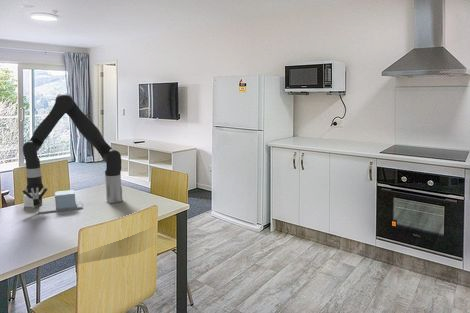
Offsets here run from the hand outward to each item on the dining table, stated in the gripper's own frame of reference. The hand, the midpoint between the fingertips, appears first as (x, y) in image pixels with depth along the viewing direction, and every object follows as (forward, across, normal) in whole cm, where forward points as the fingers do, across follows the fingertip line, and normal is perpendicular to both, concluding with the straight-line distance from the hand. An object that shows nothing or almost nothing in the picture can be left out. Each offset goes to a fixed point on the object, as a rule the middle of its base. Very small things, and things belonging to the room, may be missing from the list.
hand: (36, 204), depth 206 cm
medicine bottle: (+4, -3, +13) cm, 14 cm away
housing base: (+4, +13, 0) cm, 14 cm away
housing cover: (+3, +15, 0) cm, 15 cm away
